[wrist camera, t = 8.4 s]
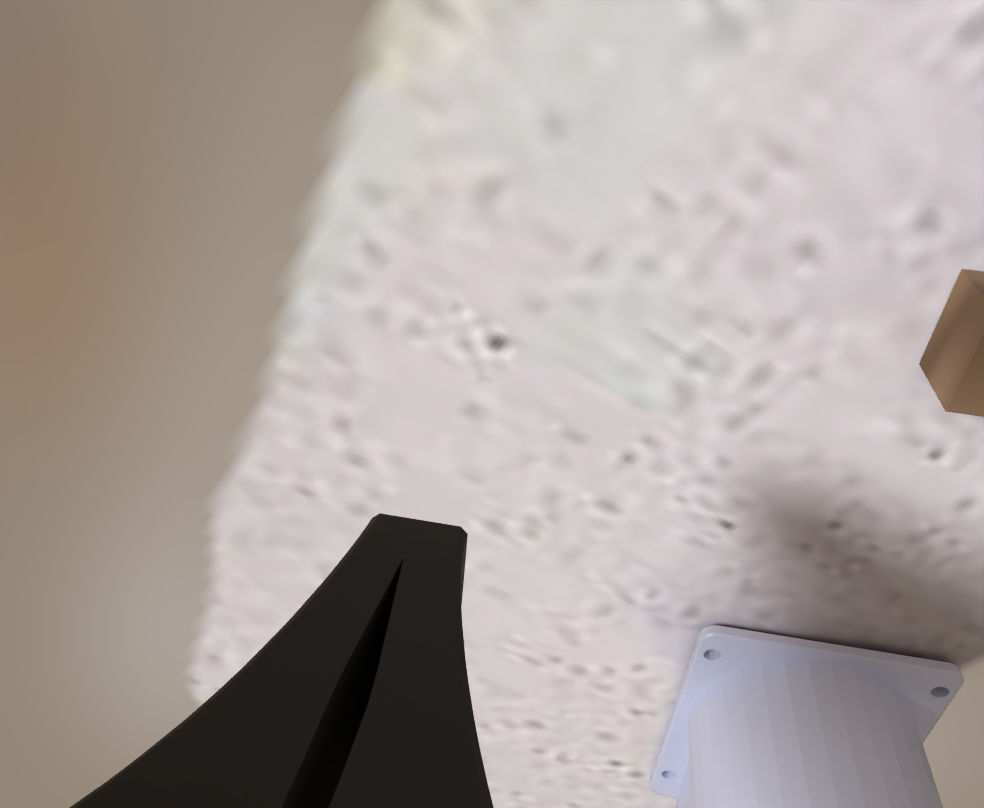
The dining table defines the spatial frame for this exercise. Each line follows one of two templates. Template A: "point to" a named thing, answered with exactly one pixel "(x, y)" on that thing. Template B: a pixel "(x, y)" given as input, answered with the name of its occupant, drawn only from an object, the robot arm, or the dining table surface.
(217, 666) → the dining table surface
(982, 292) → the end blocks
